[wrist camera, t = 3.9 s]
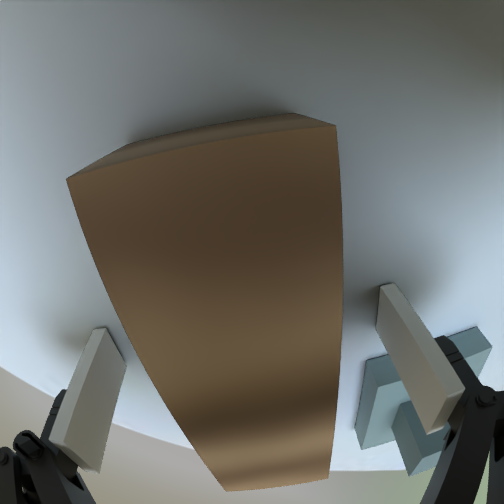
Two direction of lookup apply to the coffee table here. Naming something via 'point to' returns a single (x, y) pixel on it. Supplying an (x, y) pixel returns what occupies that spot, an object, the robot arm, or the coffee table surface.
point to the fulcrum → (407, 407)
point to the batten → (230, 285)
